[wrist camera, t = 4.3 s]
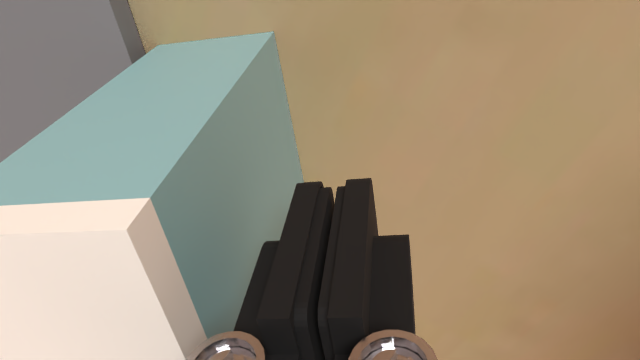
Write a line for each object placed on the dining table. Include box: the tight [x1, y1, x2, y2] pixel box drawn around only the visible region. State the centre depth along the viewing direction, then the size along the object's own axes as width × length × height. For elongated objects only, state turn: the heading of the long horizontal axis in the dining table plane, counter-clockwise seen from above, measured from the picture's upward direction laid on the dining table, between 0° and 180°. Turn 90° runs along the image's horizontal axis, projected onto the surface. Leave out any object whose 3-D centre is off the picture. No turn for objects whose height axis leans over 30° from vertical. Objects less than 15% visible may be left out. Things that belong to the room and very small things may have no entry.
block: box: [0, 32, 304, 360], centre depth 13 cm, size 4×6×10 cm, turn 9°
